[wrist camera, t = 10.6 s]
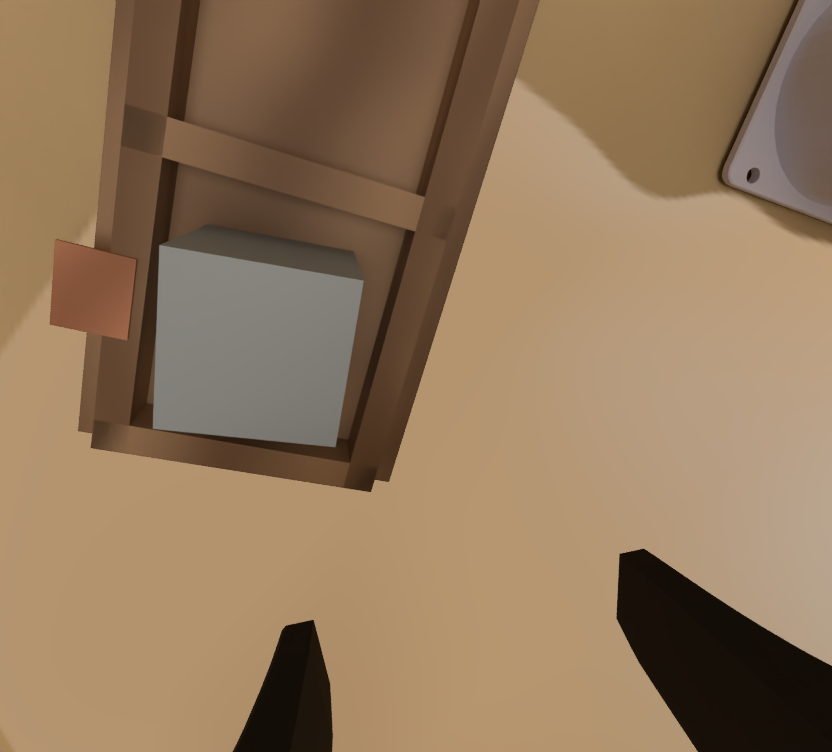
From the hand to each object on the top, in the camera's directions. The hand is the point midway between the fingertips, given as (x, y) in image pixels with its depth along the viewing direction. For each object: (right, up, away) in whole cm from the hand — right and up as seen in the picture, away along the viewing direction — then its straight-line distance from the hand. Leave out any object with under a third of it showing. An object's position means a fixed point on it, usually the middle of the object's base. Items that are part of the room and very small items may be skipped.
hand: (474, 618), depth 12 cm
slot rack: (-5, +12, +5) cm, 14 cm away
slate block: (-6, +8, +5) cm, 11 cm away
